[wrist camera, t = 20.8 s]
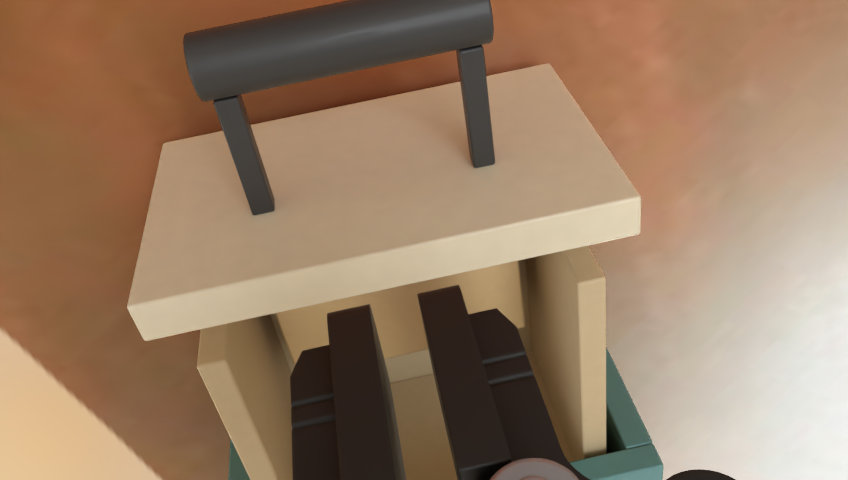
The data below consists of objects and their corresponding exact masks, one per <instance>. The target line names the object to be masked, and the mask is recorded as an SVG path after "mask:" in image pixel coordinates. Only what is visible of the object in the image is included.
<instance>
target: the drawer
mask: <svg viewBox="0 0 848 480" xmlns="http://www.w3.org/2000/svg"><path fill="white" fill-rule="evenodd" d="M492 40H493V16H492V9H491V3H490V0H348V1H343V2H338V3H333V4H328V5H323V6H318V7H313V8H308V9H303V10H298V11H293V12H288V13H283V14H279V15H274V16H269V17H264V18H259V19H254V20H249V21H244V22H239V23H234V24H229V25H224V26H219V27H214V28H209V29H205V30H200V31H195V32H190V33H186V34H185V35H184V40H183V46H184V54H185V59H186V64H187V68H188V72H189V75H190V78H191V81H192V84H193V86H194V89H195V91H196V93H197V95H198V96H199V98H200V99H201V100H202V101H204V102H206V101H211V100H214V103H213V104H214V106H215V109H216V112H217V115H218V118H219V121H220V124H221V126H222V129H223V131H219V132H214V133H209V134H205V135H200V136H195V137H190V138H185V139H181V140H176V141H171V142H166V143H164V144H163V146H162V151H161V155H160V160H159V164H158V169H157V173H156V178H155V182H154V187H153V191H152V196H151V201H150V205H149V210H148V214H147V219H146V223H145V228H144V232H143V237H142V241H141V246H140V250H139V255H138V259H137V264H136V268H135V273H134V277H133V282H132V286H131V291H130V295H129V300H128V305H127V309H128V311H129V313H130V315H131V316H132V318H133V320H134V322H135V324H136V326H137V328H138V330H139V332H140V334H141V336H142V337H143V339H144V340H145V341H149V340H154V339H158V338H163V337H167V336H172V335H177V334H181V333H186V332H190V331H195V330H200V329H201V332H200V341H199V351H198V360H197V369H198V371H199V373H200V375H201V377H202V379H203V381H204V383H205V386H206V388H207V390H208V392H209V394H210V396H211V398H212V400H213V402H214V404H215V407H216V409H217V411H218V413H219V415H220V417H221V419H222V421H223V423H224V425H225V427H226V430H227V432H228V434H229V436H230V438H231V440H232V442H233V444H234V446H235V448H236V451H237V453H238V455H239V457H240V459H241V461H242V463H243V465H244V467H245V469H246V471H247V474H248V476H249V478H250V480H293V467H292V425H291V408H292V406H291V392H290V376H291V374H292V371H293V369H294V367H295V366H294V363H293V360H292V358H291V355H290V353H289V350H288V347H287V345H286V342H285V339H284V337H283V334H282V331H281V329H280V326H279V323H278V321H277V318H276V316H275V313H278V312H283V311H288V310H292V309H297V308H301V307H306V306H311V305H315V304H320V303H325V302H329V301H334V300H338V299H343V298H348V297H352V296H357V295H362V294H366V293H371V292H375V291H380V290H385V289H389V288H394V287H399V286H403V285H408V284H412V283H417V282H422V281H426V280H431V279H435V278H440V277H445V276H449V275H454V274H459V273H463V272H468V271H472V270H477V269H482V268H486V267H491V266H496V265H500V264H505V263H509V262H514V261H519V269H520V279H521V288H522V298H523V307H524V317H525V327H524V328H520V329H518V332H519V335H520V337H521V340H522V343H523V346H524V348H525V351H526V355H527V357H528V359H529V362H530V365H531V367H532V370H533V374H534V376H535V378H536V381H537V384H538V387H539V389H540V392H541V395H542V397H543V400H544V403H545V406H546V408H547V411H548V414H549V417H550V419H551V422H552V425H553V427H554V430H555V433H556V436H557V438H558V441H559V444H560V447H561V449H562V451H563V453H564V456H565V457H566V459H567V460H568V461H569V462H573V461H577V460H582V459H586V458H590V457H595V456H599V455H604V454H606V277H605V276H604V274H603V272H602V270H601V268H600V266H599V264H598V263H597V261H596V259H595V257H594V255H593V253H592V251H591V250H590V248H589V246H588V245H593V244H597V243H602V242H607V241H611V240H616V239H620V238H625V237H630V236H634V235H638V234H639V233H640V218H641V196H640V195H639V193H638V192H637V190H636V189H635V187H634V186H633V184H632V183H631V182H630V180H629V179H628V177H627V176H626V174H625V173H624V171H623V170H622V168H621V167H620V165H619V164H618V163H617V161H616V160H615V158H614V157H613V155H612V154H611V152H610V151H609V149H608V148H607V146H606V145H605V144H604V142H603V141H602V139H601V138H600V136H599V135H598V133H597V132H596V130H595V129H594V127H593V126H592V125H591V123H590V122H589V120H588V119H587V117H586V116H585V114H584V113H583V111H582V110H581V108H580V107H579V106H578V104H577V103H576V101H575V100H574V98H573V97H572V95H571V94H570V92H569V91H568V89H567V88H566V87H565V85H564V84H563V82H562V81H561V79H560V78H559V76H558V75H557V73H556V72H555V70H554V69H553V68H552V66H551V65H550V64H549V63H547V64H542V65H537V66H532V67H528V68H523V69H518V70H513V71H508V72H503V73H499V74H494V75H489V76H486V69H485V59H484V50H483V47H482V45H483V44H488V43H491V42H492ZM454 50H456V53H457V60H458V68H459V76H460V82H455V83H450V84H446V85H441V86H436V87H431V88H426V89H422V90H417V91H412V92H407V93H402V94H397V95H393V96H388V97H383V98H378V99H373V100H369V101H364V102H359V103H354V104H349V105H344V106H340V107H335V108H330V109H325V110H320V111H316V112H311V113H306V114H301V115H296V116H291V117H287V118H282V119H277V120H272V121H267V122H262V123H258V124H253V125H250V122H249V119H248V116H247V112H246V109H245V106H244V103H243V100H242V97H241V94H245V93H250V92H255V91H260V90H265V89H269V88H274V87H279V86H284V85H289V84H294V83H299V82H303V81H308V80H313V79H318V78H323V77H328V76H333V75H337V74H342V73H347V72H352V71H357V70H362V69H367V68H371V67H376V66H381V65H386V64H391V63H396V62H401V61H405V60H410V59H415V58H420V57H425V56H430V55H435V54H439V53H444V52H449V51H454ZM385 363H386V367H387V372H388V376H389V381H390V385H391V390H392V396H393V401H394V407H395V413H396V419H397V425H398V431H399V438H400V444H401V450H402V456H403V462H404V468H405V474H406V480H457V476H456V471H455V467H454V463H453V458H452V454H451V449H450V445H449V441H448V436H447V432H446V427H445V423H444V418H443V414H442V410H441V405H440V401H439V396H438V392H437V387H436V383H435V378H434V374H433V369H432V364H431V360H430V355H429V350H428V349H427V350H423V351H418V352H414V353H410V354H405V355H401V356H396V357H392V358H388V359H385Z"/></svg>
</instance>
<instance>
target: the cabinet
mask: <svg viewBox="0 0 848 480" xmlns="http://www.w3.org/2000/svg"><path fill="white" fill-rule="evenodd" d="M569 463H570V464H571V465H572V466H573V467H574V468H575V469H576V470H577V471H578V472H580V473H581V474H582V475H583V476H585V477H587V478H589V479H590V480H662V478H663V463H662V461H661V459H660V457H659V455H658V453H657V451H656V449H655V447H654V445H653V444H652V440H651V438H650V436H649V434H648V432H647V430H646V428H645V426H644V424H643V422H642V420H641V418H640V415H639V413H638V411H637V409H636V407H635V405H634V403H633V401H632V399H631V397H630V395H629V393H628V391H627V389H626V387H625V385H624V383H623V380H622V378H621V376H620V374H619V372H618V370H617V368H616V366H615V364H614V362H613V360H612V358H611V356H610V354H609V352H608V350H607V347H606V454H604V455H599V456H595V457H590V458H586V459H582V460H577V461H573V462H569ZM228 480H250V478H249V476H248V474H247V471H246V469H245V467H244V465H243V463H242V461H241V459H240V457H239V455H238V453H237V451H236V448H235V446H234V444H233V442H232V440H231V439H230V459H229V478H228Z"/></svg>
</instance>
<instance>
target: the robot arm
mask: <svg viewBox="0 0 848 480" xmlns="http://www.w3.org/2000/svg"><path fill="white" fill-rule="evenodd" d="M417 296H418V301H419V306H420V311H421V316H422V321H423V325H424V330H425V335H426V340H427V345H428V350H429V355H430V360H431V364H432V369H433V374H434V378H435V383H436V387H437V392H438V396H439V401H440V405H441V410H442V414H443V418H444V423H445V427H446V432H447V436H448V441H449V445H450V449H451V454H452V458H453V463H454V467H455V471H456V476H457V480H590V479H589V478H587V477H585V476H583V475H582V474H581V473H580V472H578V471H577V470H576V469H575V468H574V467H573V466H572V465H571V464H570V463H569V461H568V460H567V459H566V457H565V456H564V453H563V451H562V449H561V447H560V444H559V441H558V438H557V436H556V433H555V430H554V427H553V425H552V422H551V419H550V417H549V414H548V411H547V408H546V406H545V403H544V400H543V397H542V395H541V392H540V389H539V387H538V384H537V381H536V378H535V376H534V374H533V370H532V367H531V365H530V362H529V359H528V357H527V355H526V351H525V348H524V346H523V343H522V340H521V337H520V335H519V332H518V329H517V327H516V326H515V325H514V324H513V323H512V322H511V321H510V320H509V319H508V318H507V317H505V316H504V315H503V314H502V313H501V312H500V311H499V310H498V309H497V308H495V309H490V310H486V311H481V312H477V313H472V314H468V312H467V308H466V305H465V302H464V298H463V295H462V292H461V289H460V286H459V285H455V286H450V287H445V288H441V289H436V290H432V291H427V292H422V293H418V294H417ZM327 325H328V336H329V345H326V346H321V347H317V348H312V349H307V350H303V351H302V352H301V354H300V356H299V358H298V361H297V363H296V365H295V367H294V369H293V371H292V374H291V376H290V392H291V406H292V408H291V425H292V467H293V480H406V474H405V468H404V462H403V456H402V450H401V444H400V438H399V431H398V425H397V419H396V413H395V407H394V401H393V396H392V390H391V385H390V381H389V376H388V372H387V367H386V363H385V359H384V356H383V352H382V348H381V344H380V340H379V336H378V332H377V328H376V324H375V321H374V317H373V313H372V309H371V306H370V304H367V305H363V306H358V307H353V308H349V309H344V310H340V311H335V312H330V313H327ZM667 480H735V479H733V478H731V477H729V476H727V475H724V474H722V473H719V472H714V471H710V470H689V471H684V472H680V473H678V474H675V475H673V476H671V477H670V478H668V479H667Z"/></svg>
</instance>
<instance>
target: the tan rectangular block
mask: <svg viewBox="0 0 848 480" xmlns="http://www.w3.org/2000/svg"><path fill="white" fill-rule="evenodd" d="M455 285H459V286H460V289H461V292H462V295H463V298H464V302H465V305H466V308H467V312H468V314H472V313H477V312H481V311H486V310H490V309H495V308H497V309H498V310H499V311H500V312H501V313H502V314H503V315H504V316H505V317H507V318H508V319H509V320H510V321H511V322H512V323H513V324H514V325H515V326H516V327H517V329H520V328H524V327H525V317H524V307H523V298H522V288H521V279H520V269H519V261H514V262H509V263H505V264H500V265H496V266H491V267H486V268H482V269H477V270H472V271H468V272H463V273H459V274H454V275H449V276H445V277H440V278H435V279H431V280H426V281H422V282H417V283H412V284H408V285H403V286H399V287H394V288H389V289H385V290H380V291H375V292H371V293H366V294H362V295H357V296H352V297H348V298H343V299H338V300H334V301H329V302H325V303H320V304H315V305H311V306H306V307H301V308H297V309H292V310H288V311H283V312H278V313H275V316H276V318H277V321H278V323H279V326H280V329H281V331H282V334H283V337H284V339H285V342H286V345H287V347H288V350H289V353H290V355H291V358H292V360H293V363H294V366H295V365H296V363H297V361H298V358H299V356H300V354H301V352H302V351H303V350H307V349H312V348H317V347H321V346H326V345H329V336H328V325H327V313H330V312H335V311H340V310H344V309H349V308H353V307H358V306H363V305H367V304H370V306H371V309H372V313H373V317H374V321H375V324H376V328H377V332H378V336H379V340H380V344H381V348H382V352H383V356H384V359H388V358H392V357H396V356H401V355H405V354H410V353H414V352H418V351H423V350H427V349H428V345H427V340H426V335H425V330H424V325H423V321H422V316H421V311H420V306H419V301H418V296H417V294H418V293H422V292H427V291H432V290H436V289H441V288H445V287H450V286H455Z"/></svg>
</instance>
